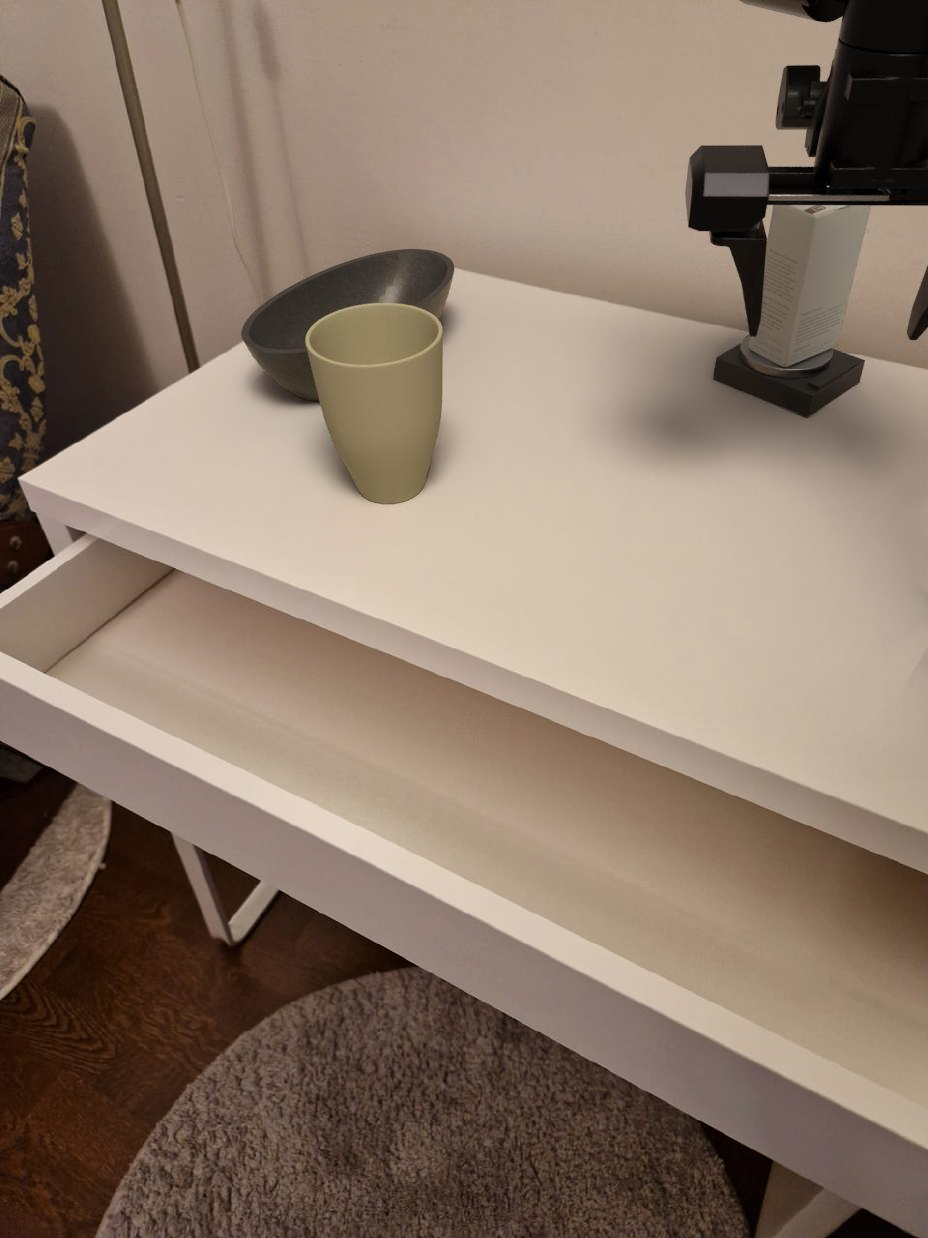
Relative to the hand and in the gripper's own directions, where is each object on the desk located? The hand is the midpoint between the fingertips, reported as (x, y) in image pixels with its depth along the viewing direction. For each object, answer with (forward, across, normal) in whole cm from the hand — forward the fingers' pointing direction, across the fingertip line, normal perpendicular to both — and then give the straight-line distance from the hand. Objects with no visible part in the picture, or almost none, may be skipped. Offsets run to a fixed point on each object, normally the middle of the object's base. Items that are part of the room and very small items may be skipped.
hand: (830, 335), depth 58 cm
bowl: (+13, +34, -19) cm, 41 cm away
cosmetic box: (+10, -2, -18) cm, 21 cm away
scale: (+13, -2, -18) cm, 22 cm away
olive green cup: (+13, +29, -2) cm, 32 cm away
